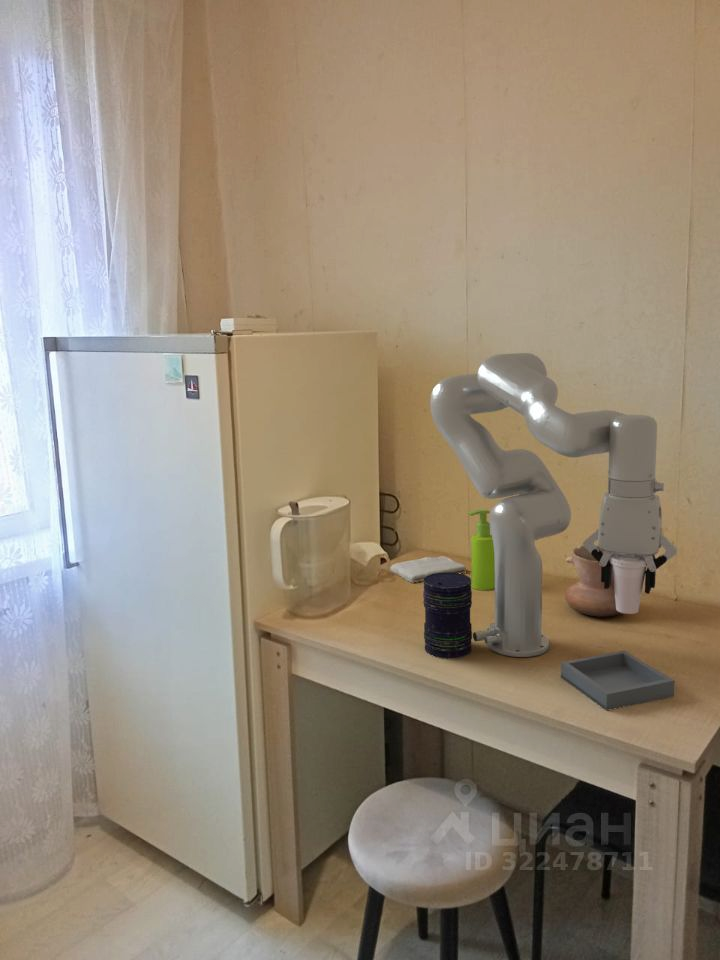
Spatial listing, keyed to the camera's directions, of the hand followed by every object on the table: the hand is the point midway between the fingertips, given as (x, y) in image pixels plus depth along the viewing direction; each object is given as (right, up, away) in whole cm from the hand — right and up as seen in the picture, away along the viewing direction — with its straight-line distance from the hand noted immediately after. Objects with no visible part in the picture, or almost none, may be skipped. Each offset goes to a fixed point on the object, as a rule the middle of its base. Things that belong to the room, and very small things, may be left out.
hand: (627, 587), depth 136 cm
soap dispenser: (-16, -9, +62) cm, 65 cm away
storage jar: (-29, -16, +25) cm, 41 cm away
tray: (0, -19, +6) cm, 20 cm away
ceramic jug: (+8, -12, +43) cm, 45 cm away
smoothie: (0, -4, +1) cm, 4 cm away
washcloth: (-28, -7, +75) cm, 80 cm away
